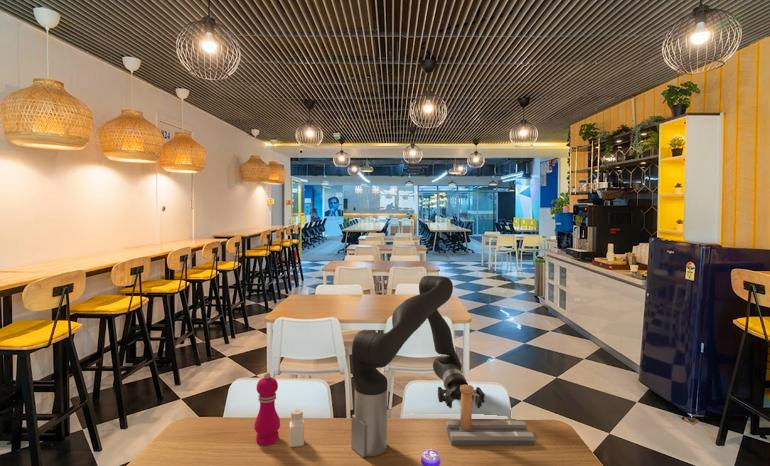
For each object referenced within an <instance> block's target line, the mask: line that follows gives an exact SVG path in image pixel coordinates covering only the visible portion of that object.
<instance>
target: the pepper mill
mask: <svg viewBox="0 0 770 466" xmlns="http://www.w3.org/2000/svg"><path fill="white" fill-rule="evenodd" d="M278 389H279V383H278V381H277V379H275V377H272V376H271V373H270V372H265V373H264V375H263V377H262V378H260V379H259V380H258V381H257V384H256V392H257V393H258V395H257V397H258V399H257V400H258V402H259V410H258V413H257V416H256V418H255V421H254V431H255V432H256V436H255V438H256V439H255V440H256V443H257V444H258V445H261V446H270V445H273V444H275V443H276V442H278V441H279V431H278V430H279V429H280V427H281V420H280V416H279V414H278V412H277V410H276V406H275V405H276V404H275V402H276V399H277V393H276V392H277V391H278Z"/></svg>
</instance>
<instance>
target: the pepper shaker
mask: <svg viewBox="0 0 770 466" xmlns="http://www.w3.org/2000/svg"><path fill="white" fill-rule="evenodd" d="M303 418H304V415H303V410H302V409H299V408H297V409H293V410H291V411H290V419H291V420H289V447H291V448H295V447H296V448H298V447H304V446H305V445H304V444H305V420H303Z"/></svg>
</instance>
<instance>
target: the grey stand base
mask: <svg viewBox="0 0 770 466" xmlns="http://www.w3.org/2000/svg"><path fill="white" fill-rule="evenodd" d="M460 421H461V420H446V433H447V435H448V438H449V442H450V444H451V446H535V439H536V438H535V434H533V432H532V431H529V430H528V429H527V425H528V424H527V423H526V422H525V420H471V427H472V430H473V432H460V431H459V425H460Z"/></svg>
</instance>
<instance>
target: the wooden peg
mask: <svg viewBox="0 0 770 466" xmlns="http://www.w3.org/2000/svg"><path fill="white" fill-rule="evenodd" d="M474 388H475V387H474V386H473V385H471V384H468V385H466V384H465V385H461V386H460V392H461V399H460V420H459V421H460V425H459V431H460V432H473V430H472V427H471V421H472V413H473V409H472V408H473V406H472V405H473V402H472V393H473V392H474V390H475V389H474Z"/></svg>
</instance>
